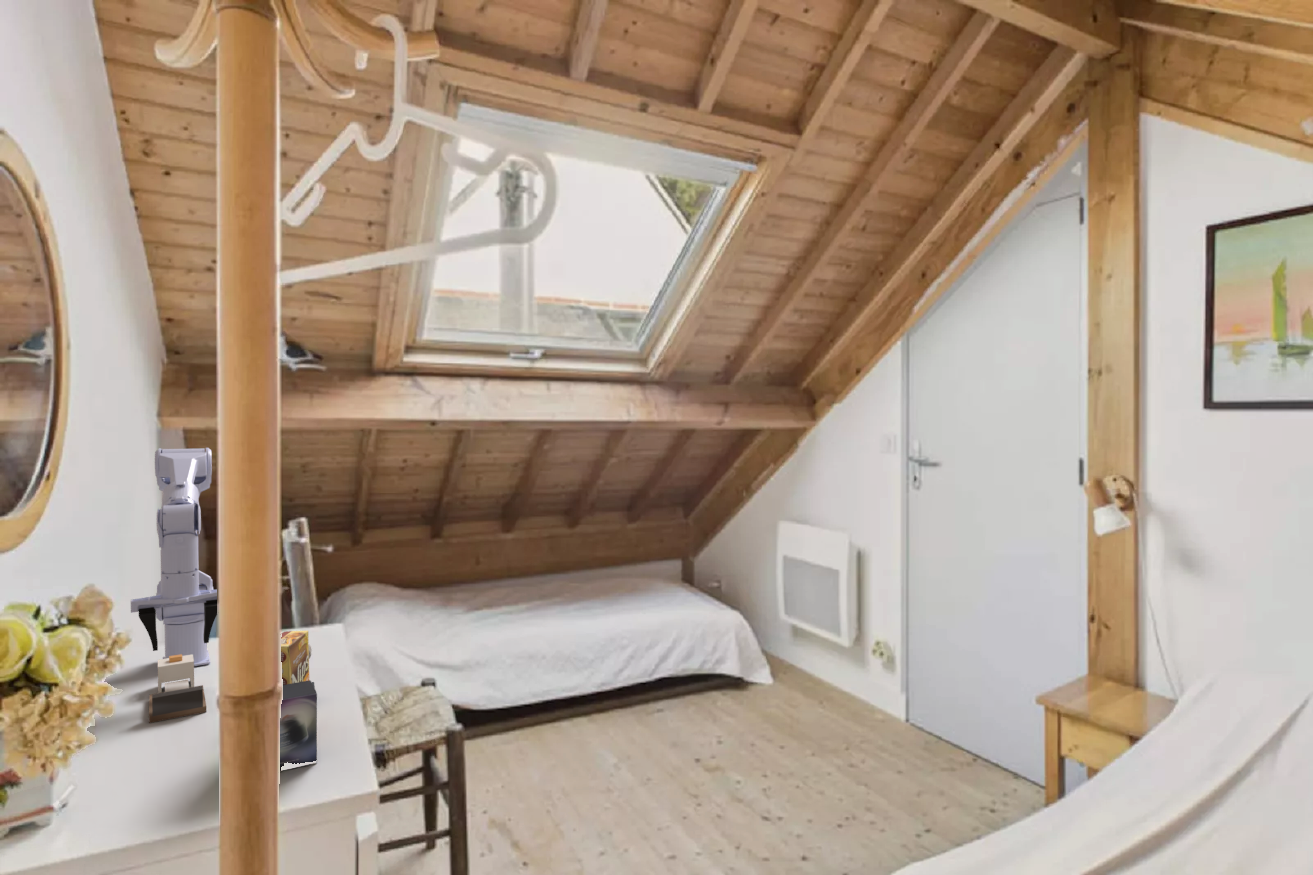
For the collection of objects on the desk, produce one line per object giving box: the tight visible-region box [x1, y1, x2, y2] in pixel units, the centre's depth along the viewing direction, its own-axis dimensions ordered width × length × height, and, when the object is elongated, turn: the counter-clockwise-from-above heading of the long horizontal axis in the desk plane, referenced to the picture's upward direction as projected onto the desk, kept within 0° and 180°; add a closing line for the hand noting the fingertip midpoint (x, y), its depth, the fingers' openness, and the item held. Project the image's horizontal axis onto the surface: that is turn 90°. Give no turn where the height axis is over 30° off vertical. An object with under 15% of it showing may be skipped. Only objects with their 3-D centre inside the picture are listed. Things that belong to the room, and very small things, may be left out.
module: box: [157, 654, 195, 693], centre depth 134 cm, size 5×6×6 cm
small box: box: [280, 679, 318, 772], centre depth 103 cm, size 11×6×10 cm, turn 123°
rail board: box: [148, 679, 207, 724], centre depth 125 cm, size 12×8×4 cm, turn 35°
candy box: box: [281, 630, 310, 685], centre depth 113 cm, size 9×4×15 cm, turn 8°
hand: (181, 645), depth 131 cm, fingers open, 7 cm apart
